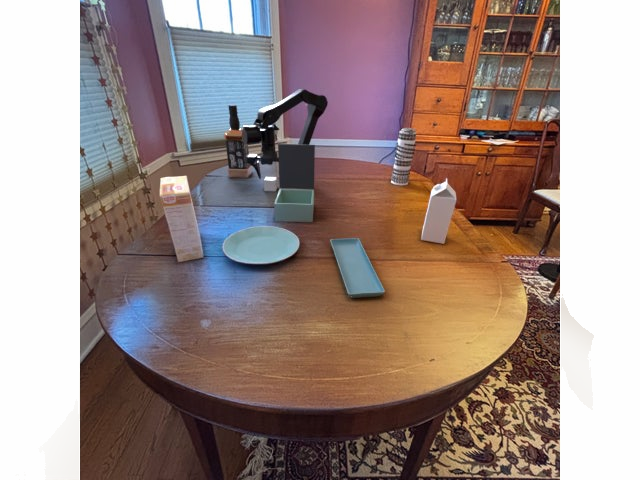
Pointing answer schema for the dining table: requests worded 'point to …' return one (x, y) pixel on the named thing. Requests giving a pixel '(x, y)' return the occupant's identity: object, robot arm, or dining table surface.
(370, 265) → the teal serving tray
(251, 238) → the plate
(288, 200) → the green open box
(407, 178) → the white patterned cylinder
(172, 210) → the coffeecake box
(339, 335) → the dining table surface
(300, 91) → the robot arm
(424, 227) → the milk carton
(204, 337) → the dining table surface
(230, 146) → the whiskey bottle
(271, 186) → the white cube
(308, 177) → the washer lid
